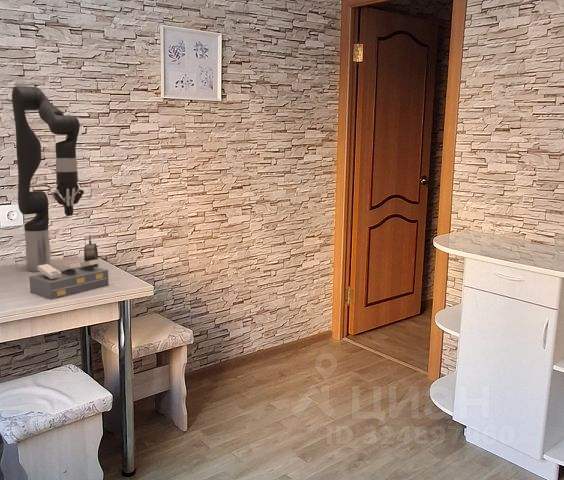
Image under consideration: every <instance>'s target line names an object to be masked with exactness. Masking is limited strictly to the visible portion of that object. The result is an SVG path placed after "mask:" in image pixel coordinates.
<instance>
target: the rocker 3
mask: <svg viewBox="0 0 564 480" xmlns="http://www.w3.org/2000/svg"><path fill="white" fill-rule="evenodd" d="M94 264H98V265H100V260H99V258H98V259H97V260H96V259H95V260H90V261H87V262H85V261H83V262H80V265H81V266H80V267H83V266H89V265H94ZM77 268H78V267H77Z"/></svg>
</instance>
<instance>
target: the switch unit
mask: <svg viewBox="0 0 564 480" xmlns="http://www.w3.org/2000/svg"><path fill="white" fill-rule="evenodd" d="M28 277H29V279H28V280H29V290H30V293H32V294H35V295H37V296H40V297H43V298H45V299H50V300H53V299H58V298H62V297H66V296H70V295H74V294H78V293H82V292H83V293H84V292H87V291H92V290H94V289H99V288H102V287H106V286H107V287H108V286H109V285H110V283H109V270H108V269H106V268H101V267H99V266H98V267H94V266H93V265H89V266H83V267H78V268H74V269H71V270H66V271H62V272H61V277H58V278H53V279H50V278H49V277H47V276H46V275H44V274H43V273H39V274H33V275H30V276H28Z"/></svg>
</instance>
